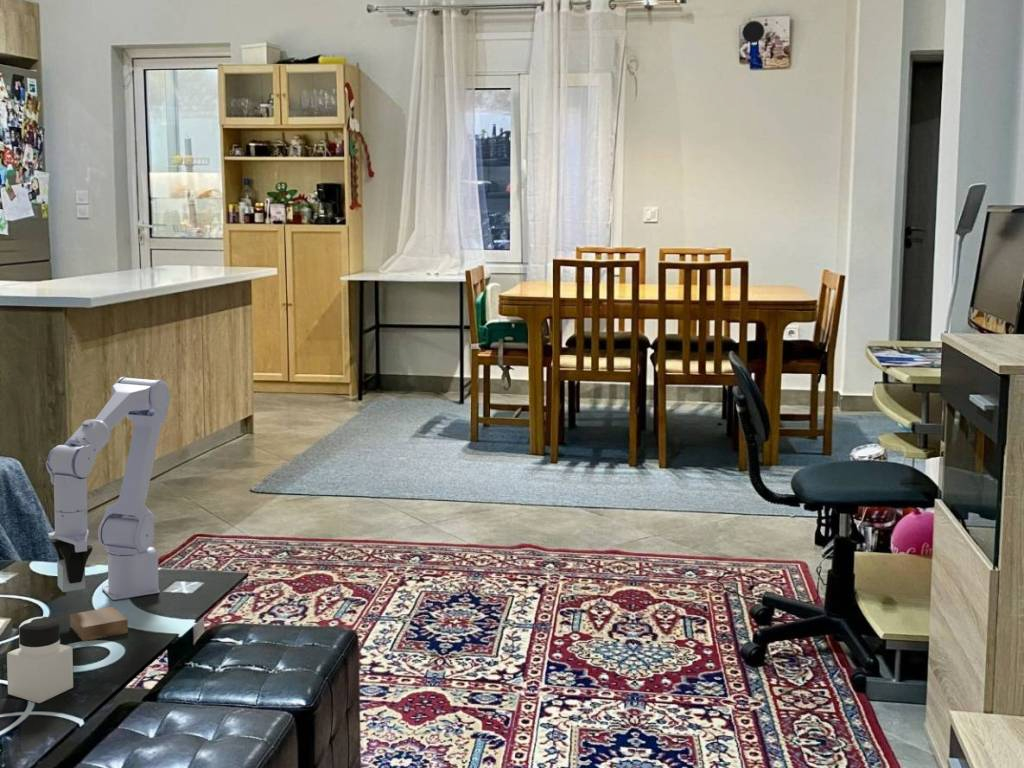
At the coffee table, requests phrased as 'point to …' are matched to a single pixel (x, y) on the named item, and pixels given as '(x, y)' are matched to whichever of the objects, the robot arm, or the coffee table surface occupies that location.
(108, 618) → the base slab
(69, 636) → the coffee table surface
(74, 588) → the cube
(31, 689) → the medicine bottle
